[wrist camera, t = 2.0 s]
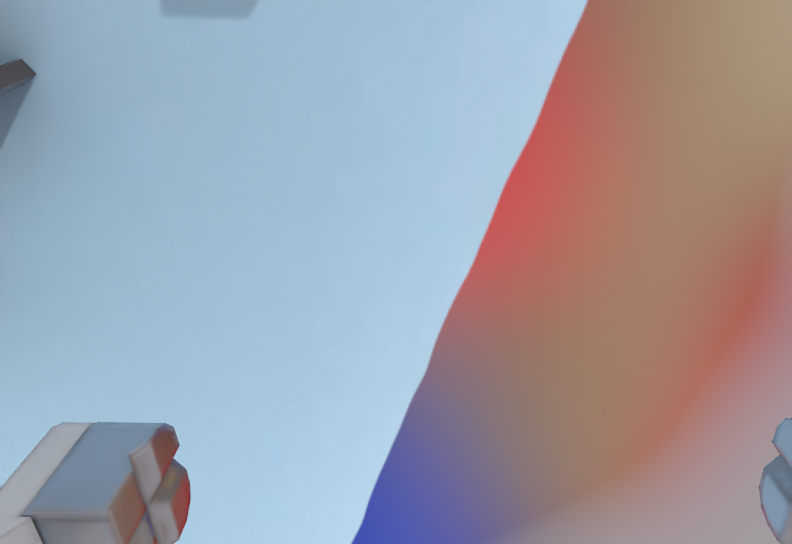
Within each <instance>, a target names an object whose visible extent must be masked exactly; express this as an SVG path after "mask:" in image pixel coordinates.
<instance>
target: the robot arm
mask: <svg viewBox="0 0 792 544" xmlns="http://www.w3.org/2000/svg"><path fill="white" fill-rule="evenodd" d="M772 443H773V444H774V446H775V447H776V449H777V451H778V452H779V453H780V455H779V456H778V457H776V458H775V459H774V460H773V461H772V462H770V463H769V464H768V465H767V466H765V467H764V469H763V473H762V477H761V481H760V485H759V492H760V500H761V508H762V511H763V513H764V516H765V519H766V521H767V524H768V526H769V528H770V529H771V531H772V532H773V534H774V536H775V537H776V539H777V541H778V542H779V543H781V544H792V418H785V419H784V420H783V421H782V422H781V423H780V424H779V426H778V427H777V429H776V432H775V434H774V438H773V441H772ZM178 447H179V442H178V439H177V436H176V433H175V430H174V427H172V426H170V425H168V424H166V423H118V422H97V423H74V422H63V423H61V424H59V425H56V426H54V427H52V428H51V429H50V430H49V431H48V433H47V434H46V435H45V436H44V437H43V438H42V440H41V441H40V442H39V443H38V444H37V446H36V447H35V448H34V449H33V450H32V451H31V453H30V454H29V455H28V456H27V457H26V459H25V460H24V461H23V462H22V463H21V465H20V466H19V467H18V468H17V469H16V470H15V472H14V473H13V474H12V475H11V476H10V478H9V479H8V480H7V481H6V482H5V483H4V485H3V486H2V487H1V488H0V544H174V543H175V542H176V541H178V540H179V538H180V535H181V533H182V531H183V528H184V526H185V523H186V521H187V516H188V510H189V505H190V499H191V498H190V482H189V478H188V474H187V470H186V469H185V468H184V467H183V466H182V465H180V464H179V463H178V462H177V461H176V460H175V459H173V457H174V455H175V453H176V451H177V449H178Z"/></svg>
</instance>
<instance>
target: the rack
mask: <svg viewBox="0 0 792 544" xmlns="http://www.w3.org/2000/svg"><path fill="white" fill-rule="evenodd" d="M35 75H36V73H35V72H34V71H33V70H32V69H31V68H30V67H29V66H28V65H27V64H26V63H25V62H24V61H23V60H22V59H19V60H16V61H13V62H10V63H7V64H4V65H1V66H0V95H1V94H3V93H6V92H8V91H10V90H13V89H15V88H17V87H20V86H22V85H24V84H25V83H26V82H28V81H29V80H30V79H31V78H33V77H34V76H35Z"/></svg>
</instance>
